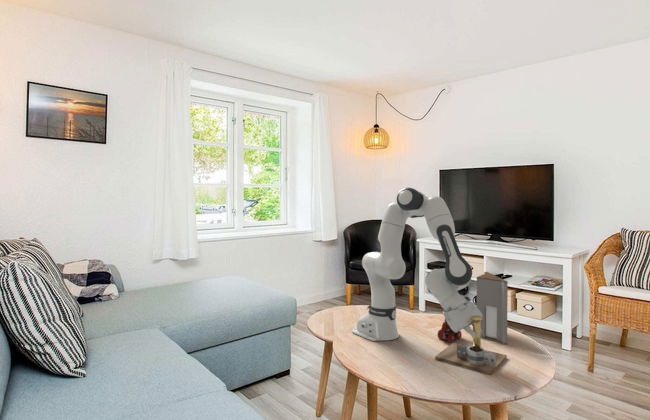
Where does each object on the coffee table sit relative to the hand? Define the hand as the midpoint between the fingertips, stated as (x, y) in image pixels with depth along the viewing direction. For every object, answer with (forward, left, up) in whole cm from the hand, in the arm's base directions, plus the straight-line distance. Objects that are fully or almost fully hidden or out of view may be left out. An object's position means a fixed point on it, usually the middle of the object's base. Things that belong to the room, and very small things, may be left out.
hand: (478, 334), depth 153 cm
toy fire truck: (-20, +20, -12) cm, 30 cm away
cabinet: (-8, +34, -12) cm, 37 cm away
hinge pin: (-1, 0, -7) cm, 7 cm away
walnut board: (-4, +4, -12) cm, 13 cm away
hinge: (-1, 0, -11) cm, 11 cm away
